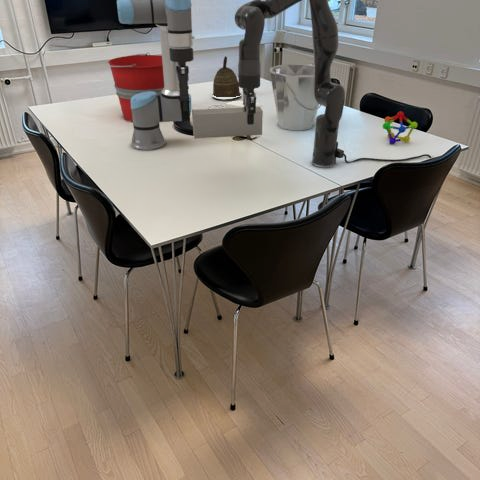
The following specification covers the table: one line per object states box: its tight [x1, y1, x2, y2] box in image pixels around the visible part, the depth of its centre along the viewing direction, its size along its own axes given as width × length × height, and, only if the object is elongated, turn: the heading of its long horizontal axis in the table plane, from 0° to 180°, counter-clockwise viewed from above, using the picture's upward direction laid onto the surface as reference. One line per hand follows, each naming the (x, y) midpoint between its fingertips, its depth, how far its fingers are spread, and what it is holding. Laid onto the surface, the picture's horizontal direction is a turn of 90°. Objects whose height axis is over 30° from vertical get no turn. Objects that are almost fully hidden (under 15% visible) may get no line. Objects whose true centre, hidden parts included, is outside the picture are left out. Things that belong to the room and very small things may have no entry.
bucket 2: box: [269, 63, 322, 131], centre depth 226 cm, size 30×30×28 cm
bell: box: [212, 56, 242, 97], centre depth 278 cm, size 19×26×20 cm
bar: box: [191, 106, 264, 140], centre depth 158 cm, size 24×6×9 cm, turn 99°
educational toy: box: [382, 110, 418, 145], centre depth 207 cm, size 16×13×15 cm
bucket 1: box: [105, 52, 164, 123], centre depth 239 cm, size 35×35×30 cm
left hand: (185, 114), depth 151 cm, fingers open, 13 cm apart
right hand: (249, 121), depth 159 cm, fingers closed on bar, 5 cm apart
